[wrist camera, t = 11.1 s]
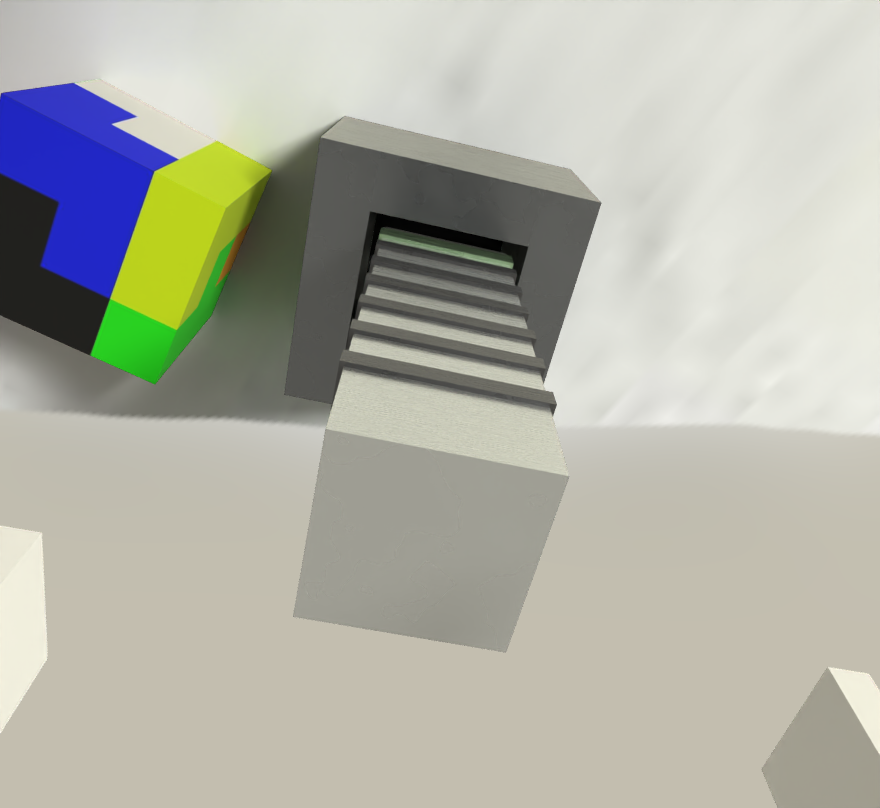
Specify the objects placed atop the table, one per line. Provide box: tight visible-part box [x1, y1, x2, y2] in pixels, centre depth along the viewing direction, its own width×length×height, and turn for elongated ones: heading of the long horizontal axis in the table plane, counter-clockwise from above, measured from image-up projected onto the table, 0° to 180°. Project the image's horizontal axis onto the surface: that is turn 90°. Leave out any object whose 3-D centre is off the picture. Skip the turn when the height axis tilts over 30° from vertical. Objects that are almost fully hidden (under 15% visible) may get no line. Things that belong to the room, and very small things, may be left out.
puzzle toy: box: [0, 79, 272, 384], centre depth 38 cm, size 10×10×10 cm
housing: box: [284, 116, 601, 404], centre depth 38 cm, size 13×13×12 cm
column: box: [293, 227, 569, 652], centre depth 28 cm, size 6×6×20 cm
